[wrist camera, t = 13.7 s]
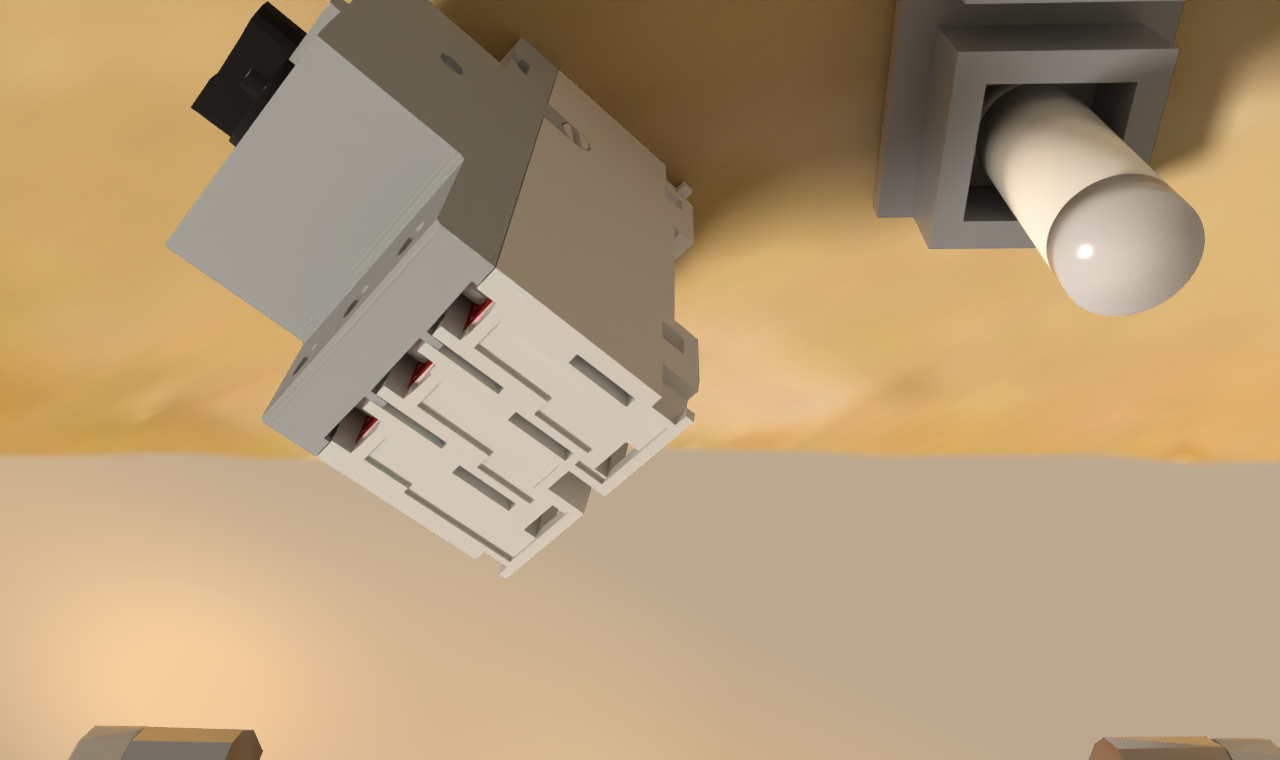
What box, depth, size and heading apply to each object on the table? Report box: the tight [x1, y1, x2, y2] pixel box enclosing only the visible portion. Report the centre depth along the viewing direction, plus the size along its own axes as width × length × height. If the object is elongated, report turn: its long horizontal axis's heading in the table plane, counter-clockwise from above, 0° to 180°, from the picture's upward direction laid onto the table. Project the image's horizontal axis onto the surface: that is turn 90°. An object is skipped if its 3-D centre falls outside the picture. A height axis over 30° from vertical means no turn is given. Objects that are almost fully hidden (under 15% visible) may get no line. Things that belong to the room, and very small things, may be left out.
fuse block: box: [873, 0, 1185, 249], centre depth 32 cm, size 9×15×4 cm, turn 1°
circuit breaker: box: [165, 0, 699, 579], centre depth 30 cm, size 8×14×15 cm, turn 47°
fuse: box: [974, 83, 1205, 316], centre depth 31 cm, size 4×4×10 cm
